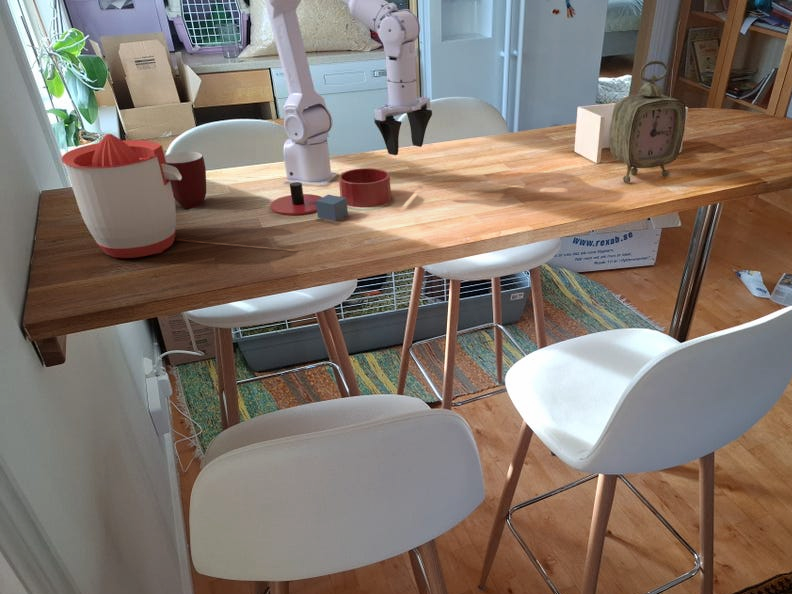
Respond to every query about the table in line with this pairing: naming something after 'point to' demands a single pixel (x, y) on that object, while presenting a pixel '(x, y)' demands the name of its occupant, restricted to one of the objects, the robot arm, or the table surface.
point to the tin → (365, 187)
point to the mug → (188, 178)
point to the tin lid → (295, 202)
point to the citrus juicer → (125, 195)
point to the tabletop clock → (647, 127)
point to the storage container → (596, 130)
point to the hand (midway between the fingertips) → (405, 149)
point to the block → (331, 207)
